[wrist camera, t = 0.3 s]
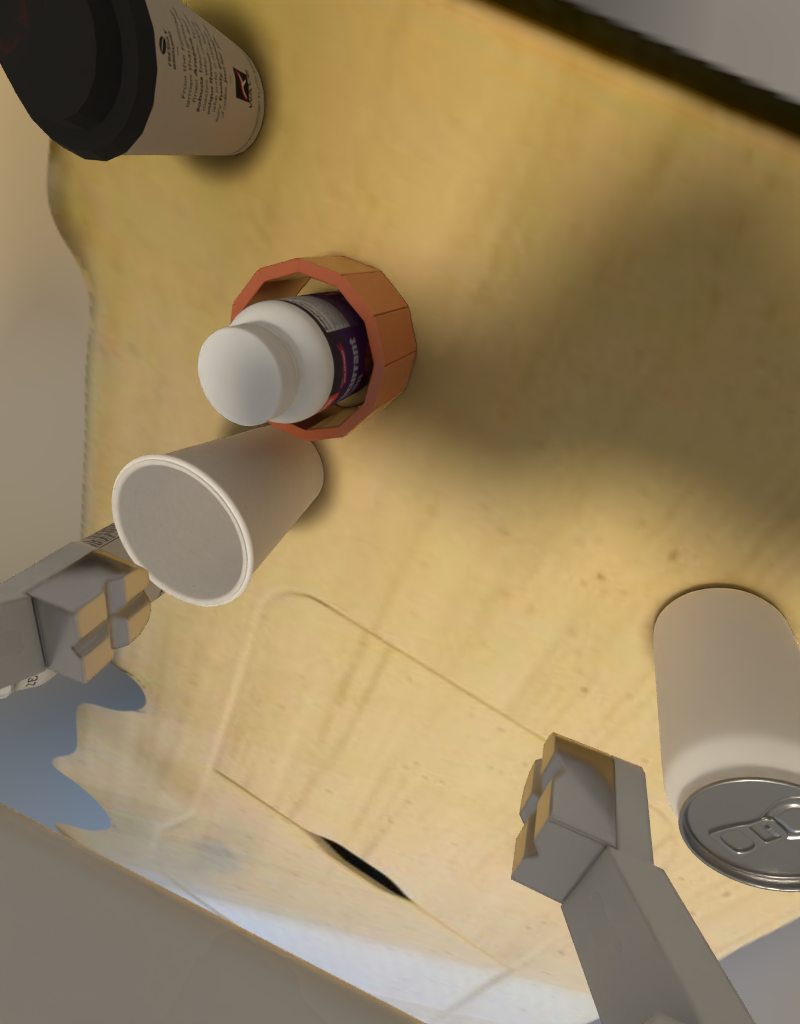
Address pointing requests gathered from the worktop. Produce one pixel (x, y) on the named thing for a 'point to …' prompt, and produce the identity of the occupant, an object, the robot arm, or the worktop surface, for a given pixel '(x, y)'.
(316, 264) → the holder cup
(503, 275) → the worktop surface
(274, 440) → the dixie cup
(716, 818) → the can
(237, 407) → the pill bottle
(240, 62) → the coffee cup
